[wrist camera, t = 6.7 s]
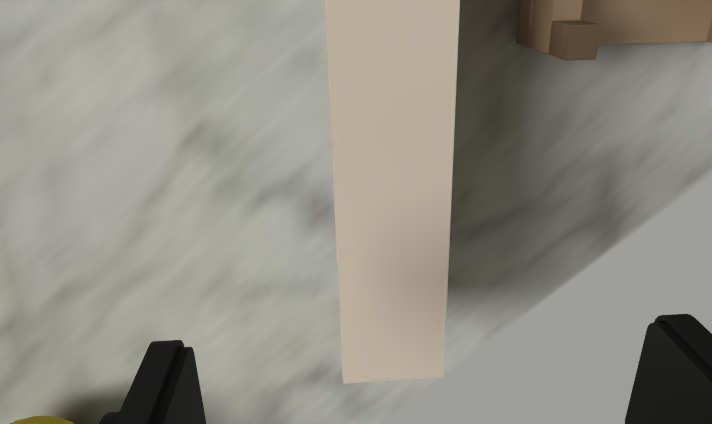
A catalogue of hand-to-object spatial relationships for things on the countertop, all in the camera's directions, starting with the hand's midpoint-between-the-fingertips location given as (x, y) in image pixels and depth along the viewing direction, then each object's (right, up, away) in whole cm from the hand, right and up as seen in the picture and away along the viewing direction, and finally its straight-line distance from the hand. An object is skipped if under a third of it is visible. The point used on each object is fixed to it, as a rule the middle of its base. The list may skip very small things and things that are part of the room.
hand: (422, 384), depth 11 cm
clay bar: (-1, +7, +10) cm, 12 cm away
